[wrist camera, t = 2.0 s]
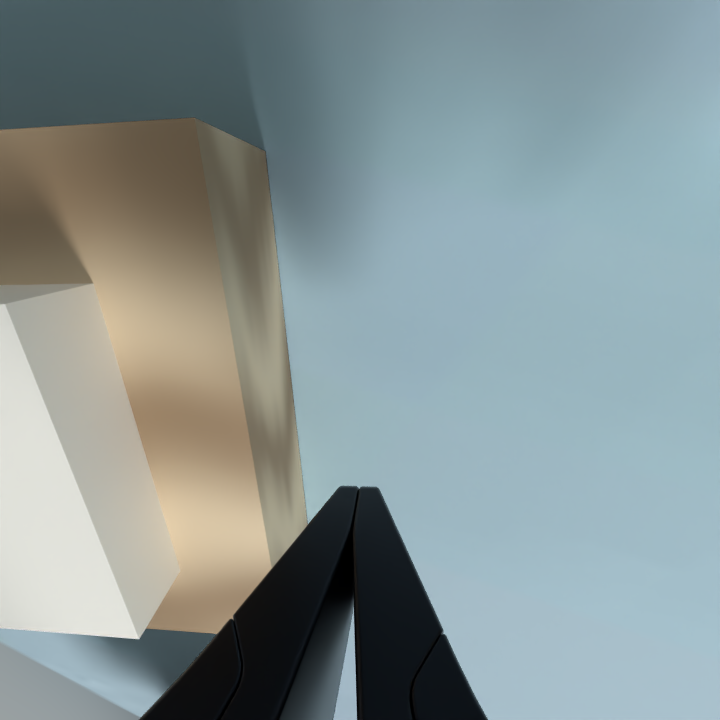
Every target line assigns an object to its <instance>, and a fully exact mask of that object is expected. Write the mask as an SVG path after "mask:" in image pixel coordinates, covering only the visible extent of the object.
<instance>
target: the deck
mask: <svg viewBox="0 0 720 720" xmlns="http://www.w3.org/2000/svg"><path fill="white" fill-rule="evenodd" d="M86 283H94V286H95V290H96V293H97V296H98V300H99V303H100V306H101V310H102V313H103V316H104V320H105V323H106V326H107V329H108V333H109V336H110V339H111V343H112V346H113V349H114V353H115V356H116V359H117V363H118V366H119V369H120V372H121V376H122V379H123V382H124V386H125V389H126V392H127V396H128V399H129V402H130V406H131V409H132V412H133V415H134V419H135V422H136V425H137V429H138V432H139V435H140V439H141V442H142V445H143V449H144V452H145V455H146V458H147V462H148V465H149V468H150V472H151V475H152V478H153V482H154V485H155V488H156V492H157V495H158V498H159V501H160V505H161V508H162V511H163V515H164V518H165V521H166V525H167V528H168V531H169V534H170V538H171V541H172V544H173V548H174V551H175V554H176V558H177V561H178V564H179V568H180V572H179V574H178V575H177V577H176V579H175V580H174V582H173V584H172V585H171V587H170V589H169V590H168V592H167V594H166V595H165V597H164V599H163V600H162V602H161V604H160V606H159V607H158V609H157V611H156V612H155V614H154V616H153V617H152V619H151V621H150V622H149V624H148V626H147V627H146V628H147V629H160V630H173V631H187V632H200V633H213V634H217V633H218V632H219V631H220V630H221V629H222V627H223V626H224V625H225V624H226V623H227V621H228V620H229V619H233V615H234V613H235V612H236V611H237V610H238V608H239V607H240V606H241V605H242V604H243V602H244V601H245V600H246V599H247V598H248V596H249V595H250V594H251V593H252V592H253V590H254V589H255V588H256V587H257V586H258V584H259V583H260V582H261V581H262V579H263V578H264V577H265V576H266V575H267V573H268V572H269V571H270V570H271V569H272V567H273V566H274V565H275V564H276V563H277V561H278V560H279V559H280V558H281V557H282V555H283V554H284V553H285V552H286V551H287V549H288V548H289V547H290V546H291V545H292V543H293V542H294V541H295V540H296V538H297V537H298V536H299V535H300V534H301V532H302V531H303V530H304V529H305V528H306V526H307V525H308V524H307V515H306V506H305V497H304V488H303V480H302V471H301V462H300V453H299V444H298V435H297V427H296V418H295V409H294V400H293V391H292V382H291V374H290V365H289V356H288V347H287V338H286V329H285V320H284V312H283V303H282V294H281V285H280V276H279V267H278V259H277V250H276V241H275V232H274V223H273V214H272V205H271V197H270V188H269V179H268V170H267V161H266V152H265V151H263V150H261V149H259V148H257V147H255V146H253V145H251V144H249V143H247V142H245V141H243V140H240V139H238V138H236V137H234V136H232V135H230V134H228V133H226V132H224V131H222V130H219V129H217V128H215V127H213V126H211V125H209V124H207V123H205V122H203V121H201V120H199V119H196V118H179V119H163V120H147V121H131V122H115V123H100V124H84V125H68V126H52V127H36V128H20V129H4V130H0V285H32V284H86ZM233 621H234V620H233Z"/></svg>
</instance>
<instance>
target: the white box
mask: <svg viewBox="0 0 720 720" xmlns="http://www.w3.org/2000/svg"><path fill="white" fill-rule="evenodd" d="M179 572H180V568H179V564H178V561H177V558H176V554H175V551H174V548H173V544H172V541H171V538H170V534H169V531H168V528H167V525H166V521H165V518H164V515H163V511H162V508H161V505H160V501H159V498H158V495H157V492H156V488H155V485H154V482H153V478H152V475H151V472H150V468H149V465H148V462H147V458H146V455H145V452H144V449H143V445H142V442H141V439H140V435H139V432H138V429H137V425H136V422H135V419H134V415H133V412H132V409H131V406H130V402H129V399H128V396H127V392H126V389H125V386H124V382H123V379H122V376H121V372H120V369H119V366H118V363H117V359H116V356H115V353H114V349H113V346H112V343H111V339H110V336H109V333H108V329H107V326H106V323H105V320H104V316H103V313H102V310H101V306H100V303H99V300H98V296H97V293H96V290H95V286H94V283H86V284H32V285H0V628H5V629H17V630H30V631H42V632H55V633H68V634H80V635H93V636H105V637H118V638H130V639H140V637H141V636H142V634H143V632H144V631H145V629H146V627H147V626H148V624H149V622H150V621H151V619H152V617H153V616H154V614H155V612H156V611H157V609H158V607H159V606H160V604H161V602H162V600H163V599H164V597H165V595H166V594H167V592H168V590H169V589H170V587H171V585H172V584H173V582H174V580H175V579H176V577H177V575H178V574H179Z"/></svg>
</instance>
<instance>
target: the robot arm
mask: <svg viewBox="0 0 720 720" xmlns="http://www.w3.org/2000/svg"><path fill="white" fill-rule="evenodd" d="M353 607H354V627H355V661H356V695H357V720H488V719H487V717H486V715H485V714H484V712H483V710H482V708H481V706H480V704H479V703H478V701H477V699H476V697H475V695H474V693H473V691H472V689H471V687H470V685H469V683H468V681H467V679H466V677H465V675H464V673H463V671H462V669H461V667H460V665H459V662H458V660H457V658H456V656H455V654H454V652H453V650H452V647H451V645H450V643H449V641H448V639H447V636H446V635H445V634H443V628H442V626H441V624H440V622H439V619H438V617H437V615H436V613H435V611H434V608H433V606H432V604H431V602H430V600H429V597H428V595H427V593H426V591H425V589H424V586H423V584H422V582H421V580H420V578H419V575H418V573H417V571H416V569H415V567H414V564H413V562H412V560H411V558H410V556H409V553H408V551H407V549H406V547H405V545H404V542H403V540H402V538H401V536H400V534H399V531H398V529H397V527H396V525H395V523H394V520H393V518H392V516H391V514H390V512H389V509H388V507H387V505H386V503H385V501H384V498H383V496H382V494H381V492H380V490H379V488H377V487H364V486H363V487H360V489H359V488H358V487H357V486H340V487H339V488H338V489H337V490H336V491H335V493H334V494H333V495H332V496H331V497H330V499H329V500H328V501H327V502H326V503H325V505H324V506H323V507H322V508H321V510H320V511H319V512H318V513H317V514H316V516H315V517H314V518H313V519H312V520H311V522H310V523H309V524H308V525H307V526H306V528H305V529H304V530H303V531H302V532H301V534H300V535H299V536H298V537H297V538H296V540H295V541H294V542H293V543H292V545H291V546H290V547H289V548H288V549H287V551H286V552H285V553H284V554H283V555H282V557H281V558H280V559H279V560H278V561H277V563H276V564H275V565H274V566H273V567H272V569H271V570H270V571H269V572H268V573H267V575H266V576H265V577H264V578H263V579H262V581H261V582H260V583H259V584H258V586H257V587H256V588H255V589H254V590H253V592H252V593H251V594H250V595H249V596H248V598H247V599H246V600H245V601H244V602H243V604H242V605H241V606H240V607H239V608H238V610H237V611H236V612H235V613H234V615H233V619H229V620H228V621H227V623H226V624H225V625H224V626H223V627H222V629H221V630H220V631H219V632H218V633H217V635H216V636H215V637H214V638H213V639H212V641H211V642H210V643H209V644H208V645H207V646H206V648H205V649H204V650H203V651H202V652H201V653H200V654H199V656H198V657H197V658H196V659H195V660H194V661H193V662H192V664H191V665H190V666H189V667H188V668H187V669H186V671H185V672H184V673H183V674H182V675H181V676H180V677H179V678H178V679H177V680H176V681H175V682H174V683H173V684H172V685H171V686H170V687H169V689H168V690H167V691H166V692H165V693H164V694H163V695H162V696H161V697H160V698H159V699H158V700H157V701H156V702H155V703H154V704H153V705H152V706H151V708H150V709H149V710H148V711H147V712H146V713H145V714H144V715H143V716H142V717H141V718H140V719H139V720H333V718H334V712H335V707H336V701H337V696H338V690H339V685H340V679H341V674H342V669H343V663H344V658H345V652H346V647H347V641H348V636H349V630H350V625H351V619H352V614H353ZM233 620H234V621H233Z"/></svg>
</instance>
